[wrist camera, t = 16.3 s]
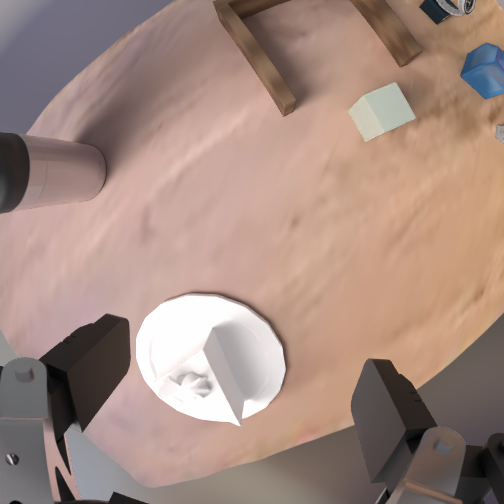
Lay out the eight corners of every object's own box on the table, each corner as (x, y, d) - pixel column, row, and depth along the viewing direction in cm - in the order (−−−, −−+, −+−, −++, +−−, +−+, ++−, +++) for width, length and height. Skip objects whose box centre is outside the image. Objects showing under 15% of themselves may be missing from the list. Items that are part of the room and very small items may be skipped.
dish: (113, 345, 48) (82, 378, 37) (213, 259, 43) (193, 283, 32) (207, 433, 51) (195, 475, 40) (315, 372, 46) (323, 417, 35)
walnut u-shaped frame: (220, 21, 35) (212, 1, 30) (339, -21, 32) (345, -41, 26) (283, 116, 38) (284, 105, 32) (406, 64, 35) (422, 50, 29)
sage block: (347, 111, 37) (363, 95, 30) (375, 98, 37) (395, 81, 29) (365, 142, 38) (384, 132, 30) (392, 129, 37) (416, 118, 29)
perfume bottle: (467, 53, 33) (505, 31, 21) (492, 76, 33) (531, 59, 21) (460, 76, 34) (500, 54, 22) (485, 99, 34) (528, 84, 22)
